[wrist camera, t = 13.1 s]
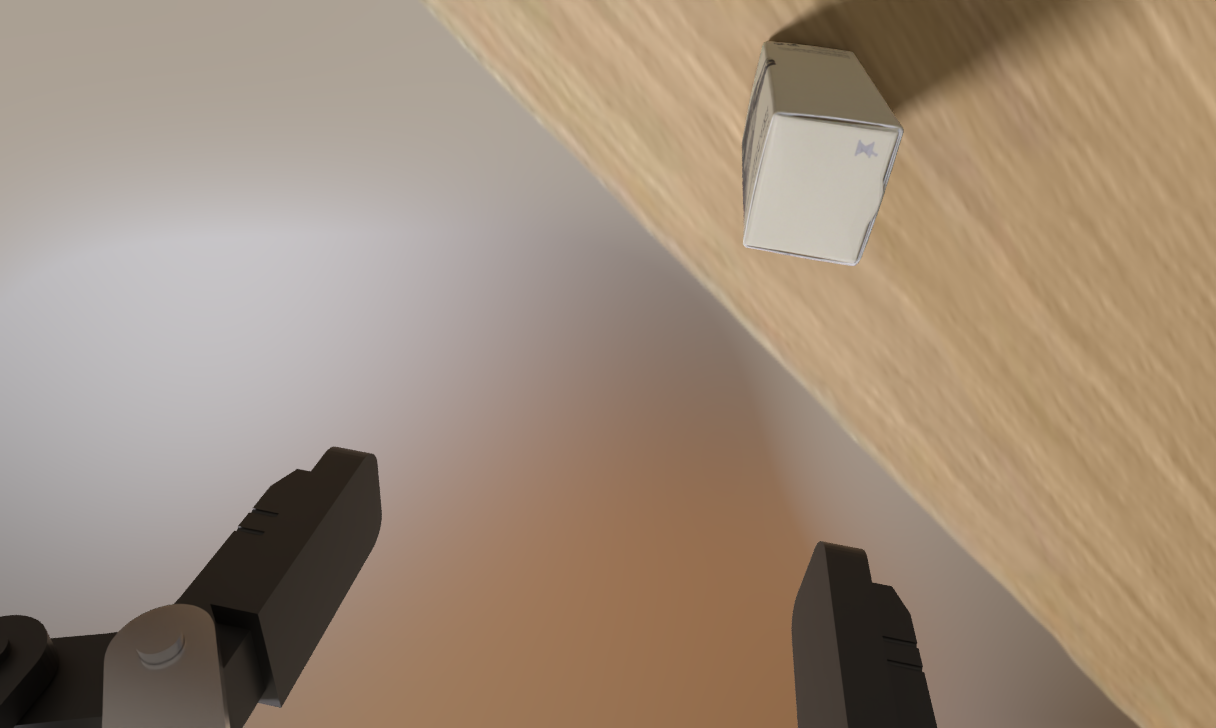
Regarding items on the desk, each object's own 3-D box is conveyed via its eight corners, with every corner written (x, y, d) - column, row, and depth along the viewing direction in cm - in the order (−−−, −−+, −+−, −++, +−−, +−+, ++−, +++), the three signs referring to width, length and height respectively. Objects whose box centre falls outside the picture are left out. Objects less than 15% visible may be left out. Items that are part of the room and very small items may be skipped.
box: (762, 37, 34) (771, 98, 23) (857, 50, 33) (911, 119, 23) (739, 149, 37) (737, 250, 26) (826, 163, 36) (861, 271, 26)
